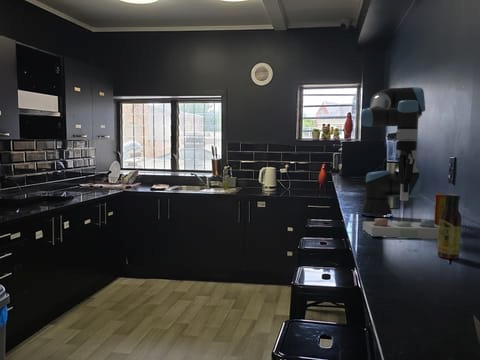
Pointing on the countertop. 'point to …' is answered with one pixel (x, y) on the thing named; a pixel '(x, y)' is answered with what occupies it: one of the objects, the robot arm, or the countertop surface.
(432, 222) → the slate button
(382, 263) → the countertop surface
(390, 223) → the button console
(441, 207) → the baking soda box
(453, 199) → the sauce bottle
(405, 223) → the sage button
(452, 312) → the countertop surface
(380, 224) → the terracotta button
